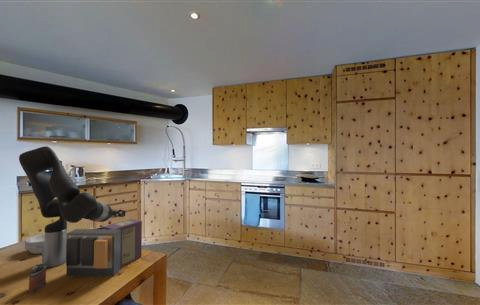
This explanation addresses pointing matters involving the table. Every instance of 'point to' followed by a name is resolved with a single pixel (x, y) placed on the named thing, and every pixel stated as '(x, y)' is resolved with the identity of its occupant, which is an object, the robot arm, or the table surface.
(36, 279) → the lighter
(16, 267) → the table surface
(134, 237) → the box
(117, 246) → the box
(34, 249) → the paper bowls
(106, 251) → the panel
